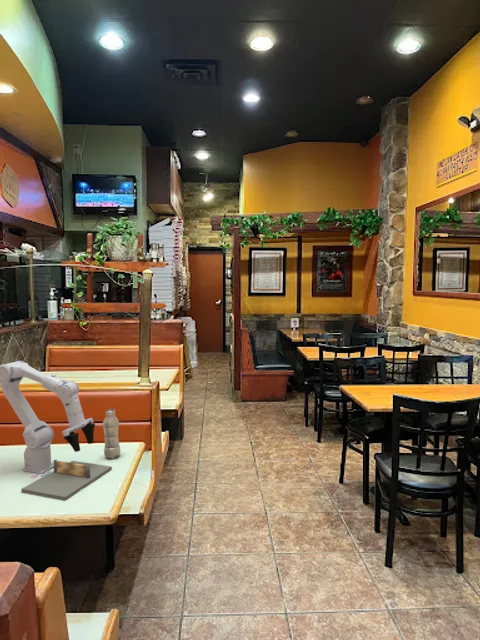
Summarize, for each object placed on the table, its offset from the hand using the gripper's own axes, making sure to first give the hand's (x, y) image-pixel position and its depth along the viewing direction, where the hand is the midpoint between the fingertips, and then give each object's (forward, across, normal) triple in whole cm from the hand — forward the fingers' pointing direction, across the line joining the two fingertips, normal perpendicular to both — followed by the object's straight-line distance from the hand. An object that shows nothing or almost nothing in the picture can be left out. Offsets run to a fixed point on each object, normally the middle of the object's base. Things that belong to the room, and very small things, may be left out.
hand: (84, 447), depth 160 cm
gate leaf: (+7, -6, +4) cm, 10 cm away
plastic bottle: (+10, +15, +2) cm, 18 cm away
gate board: (+9, -8, +4) cm, 12 cm away
